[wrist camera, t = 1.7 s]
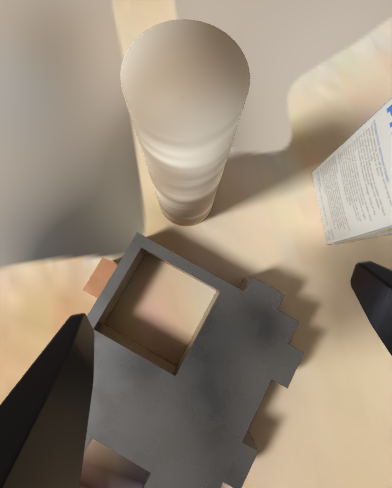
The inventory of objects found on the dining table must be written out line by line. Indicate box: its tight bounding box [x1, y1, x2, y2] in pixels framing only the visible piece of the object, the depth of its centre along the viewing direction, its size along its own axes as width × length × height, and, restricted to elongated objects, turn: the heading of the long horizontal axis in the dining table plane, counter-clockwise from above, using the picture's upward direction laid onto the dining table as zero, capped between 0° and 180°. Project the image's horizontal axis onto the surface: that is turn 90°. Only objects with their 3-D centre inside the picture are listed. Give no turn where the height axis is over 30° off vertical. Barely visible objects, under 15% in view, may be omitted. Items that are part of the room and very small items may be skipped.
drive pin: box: [120, 20, 250, 226], centre depth 17 cm, size 4×4×14 cm
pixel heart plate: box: [83, 233, 304, 488], centre depth 20 cm, size 15×15×2 cm
